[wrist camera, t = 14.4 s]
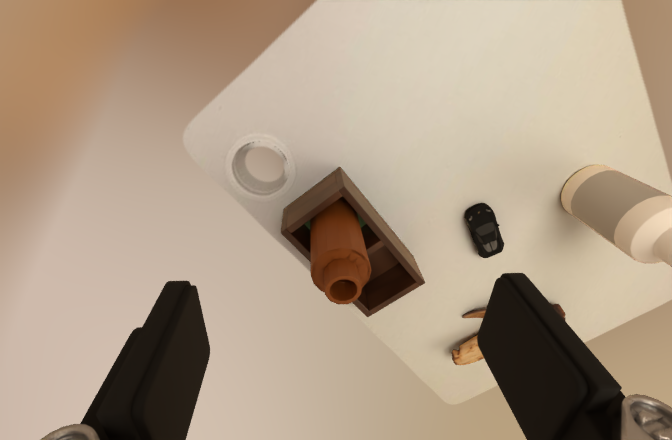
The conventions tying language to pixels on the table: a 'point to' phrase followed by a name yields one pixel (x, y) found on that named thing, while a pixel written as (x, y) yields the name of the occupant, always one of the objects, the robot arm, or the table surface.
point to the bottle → (338, 253)
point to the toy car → (484, 230)
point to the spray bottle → (622, 212)
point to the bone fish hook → (470, 349)
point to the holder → (380, 241)
